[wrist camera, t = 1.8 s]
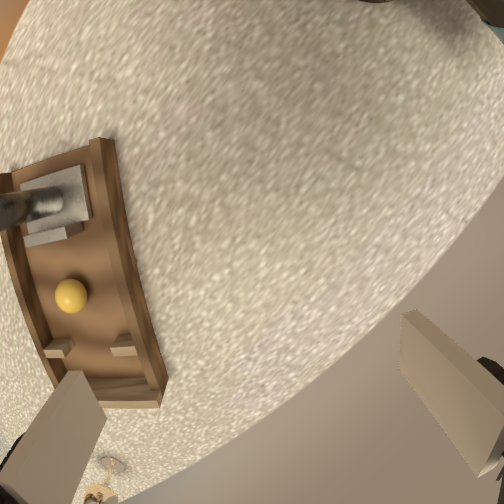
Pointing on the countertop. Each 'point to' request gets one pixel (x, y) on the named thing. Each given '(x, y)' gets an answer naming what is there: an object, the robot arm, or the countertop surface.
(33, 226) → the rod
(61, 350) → the lane
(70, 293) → the ball
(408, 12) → the countertop surface
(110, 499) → the wineglass
